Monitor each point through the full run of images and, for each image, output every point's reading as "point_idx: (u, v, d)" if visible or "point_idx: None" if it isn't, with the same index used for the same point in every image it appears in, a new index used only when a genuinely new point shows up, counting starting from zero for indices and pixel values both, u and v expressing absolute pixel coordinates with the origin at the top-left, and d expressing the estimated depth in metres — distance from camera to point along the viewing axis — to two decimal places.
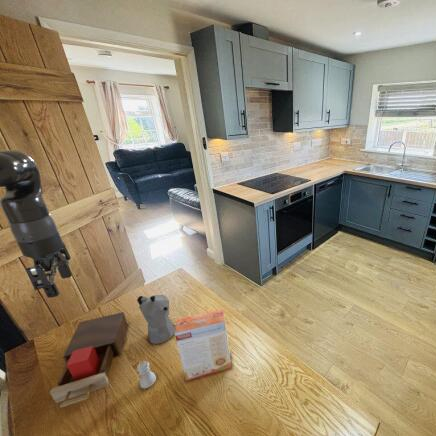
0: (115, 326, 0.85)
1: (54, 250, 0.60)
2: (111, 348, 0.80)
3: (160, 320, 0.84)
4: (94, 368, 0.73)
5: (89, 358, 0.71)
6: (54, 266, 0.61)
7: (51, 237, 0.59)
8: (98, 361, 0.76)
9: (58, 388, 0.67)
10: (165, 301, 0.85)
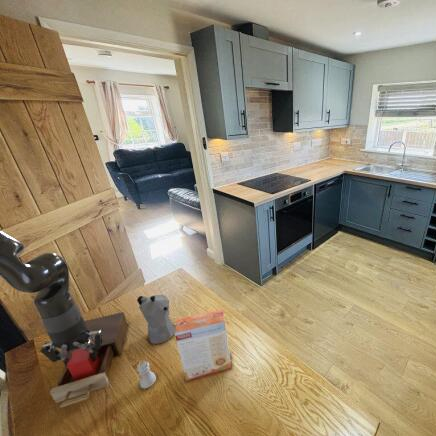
0: (115, 326, 0.85)
1: (54, 342, 0.64)
2: (111, 348, 0.80)
3: (160, 320, 0.84)
4: (94, 368, 0.73)
5: (90, 358, 0.71)
6: (63, 350, 0.67)
7: (50, 333, 0.63)
8: (98, 361, 0.76)
9: (58, 388, 0.67)
10: (165, 301, 0.85)
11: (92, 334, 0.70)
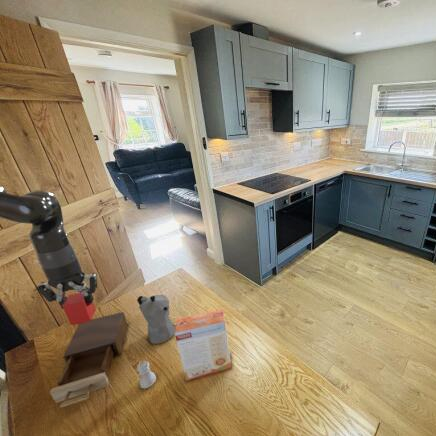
0: (115, 326, 0.85)
1: (49, 279, 0.66)
2: (111, 348, 0.80)
3: (160, 320, 0.84)
4: (89, 312, 0.75)
5: (84, 301, 0.73)
6: (59, 290, 0.69)
7: (46, 269, 0.65)
8: (93, 307, 0.78)
9: (58, 388, 0.67)
10: (165, 301, 0.85)
11: (87, 276, 0.72)
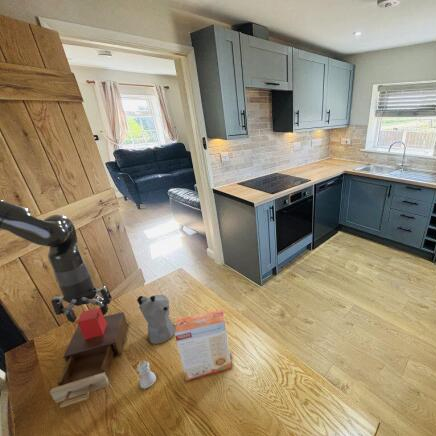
0: (115, 326, 0.85)
1: (65, 295, 0.72)
2: (111, 348, 0.80)
3: (160, 320, 0.84)
4: (101, 327, 0.82)
5: (97, 317, 0.80)
6: (71, 304, 0.75)
7: (62, 287, 0.71)
8: (104, 322, 0.85)
9: (58, 388, 0.67)
10: (165, 301, 0.85)
11: (98, 290, 0.78)
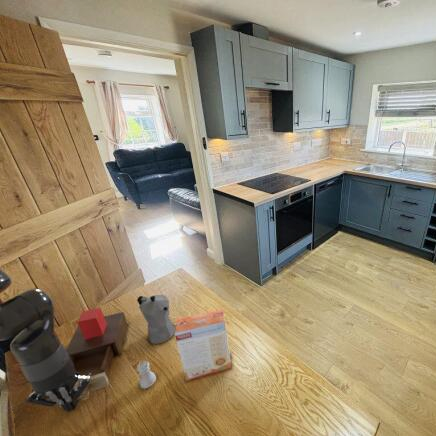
0: (115, 326, 0.85)
1: (36, 391, 0.56)
2: (111, 348, 0.80)
3: (160, 320, 0.84)
4: (101, 327, 0.82)
5: (97, 317, 0.80)
6: (52, 396, 0.59)
7: (31, 382, 0.54)
8: (104, 322, 0.85)
9: None
10: (165, 301, 0.85)
11: (81, 379, 0.62)
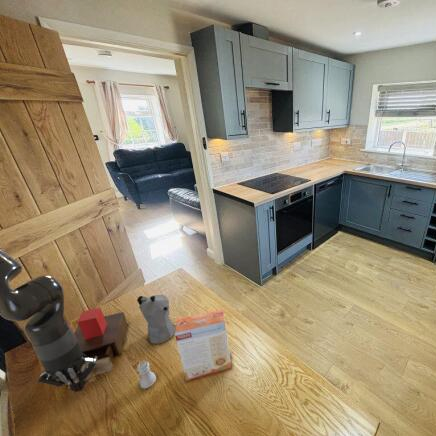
0: (115, 326, 0.85)
1: (47, 370, 0.60)
2: None
3: (160, 320, 0.84)
4: (101, 327, 0.82)
5: (97, 317, 0.80)
6: (61, 376, 0.64)
7: (43, 361, 0.59)
8: (104, 322, 0.85)
9: None
10: (165, 301, 0.85)
11: (88, 361, 0.66)
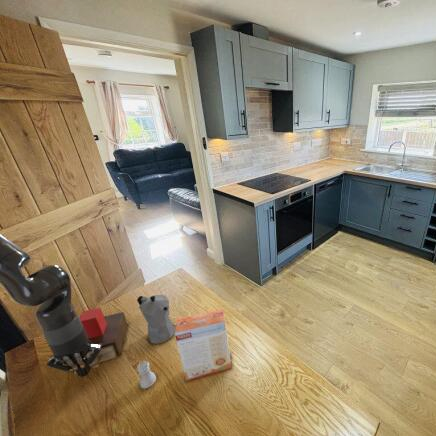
0: (115, 326, 0.85)
1: (55, 354, 0.64)
2: None
3: (160, 320, 0.84)
4: (101, 327, 0.82)
5: (97, 317, 0.80)
6: (68, 361, 0.68)
7: (52, 346, 0.63)
8: (104, 322, 0.85)
9: None
10: (165, 301, 0.85)
11: (93, 347, 0.70)
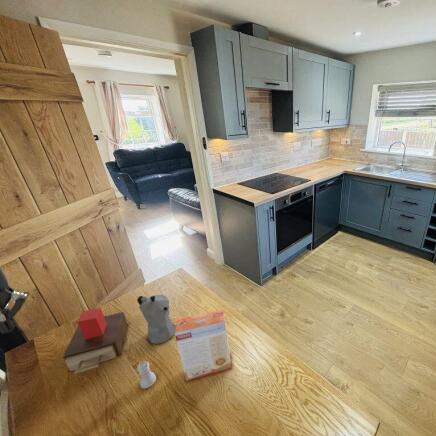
0: (115, 326, 0.85)
1: None
2: None
3: (160, 320, 0.84)
4: (101, 327, 0.82)
5: (97, 317, 0.80)
6: None
7: None
8: (104, 322, 0.85)
9: (72, 357, 0.75)
10: (165, 301, 0.85)
11: (16, 295, 0.57)
